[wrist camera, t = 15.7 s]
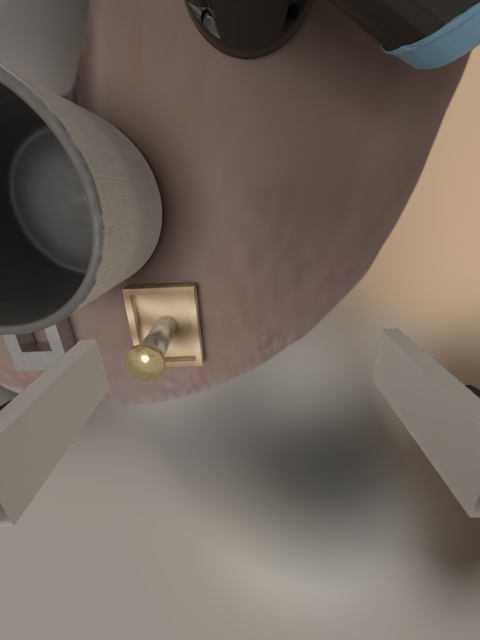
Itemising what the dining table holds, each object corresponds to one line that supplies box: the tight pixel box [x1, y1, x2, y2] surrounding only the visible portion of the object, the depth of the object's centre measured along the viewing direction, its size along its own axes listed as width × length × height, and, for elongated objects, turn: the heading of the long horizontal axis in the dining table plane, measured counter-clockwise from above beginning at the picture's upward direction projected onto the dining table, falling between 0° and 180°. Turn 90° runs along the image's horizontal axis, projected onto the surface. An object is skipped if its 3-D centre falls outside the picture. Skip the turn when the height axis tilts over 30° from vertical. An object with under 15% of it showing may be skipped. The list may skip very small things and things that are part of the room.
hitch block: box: [3, 317, 76, 371], centre depth 48 cm, size 12×9×4 cm
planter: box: [0, 64, 162, 335], centre depth 32 cm, size 23×23×20 cm
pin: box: [125, 316, 178, 381], centre depth 43 cm, size 5×5×12 cm
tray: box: [122, 282, 204, 367], centre depth 48 cm, size 14×11×2 cm
